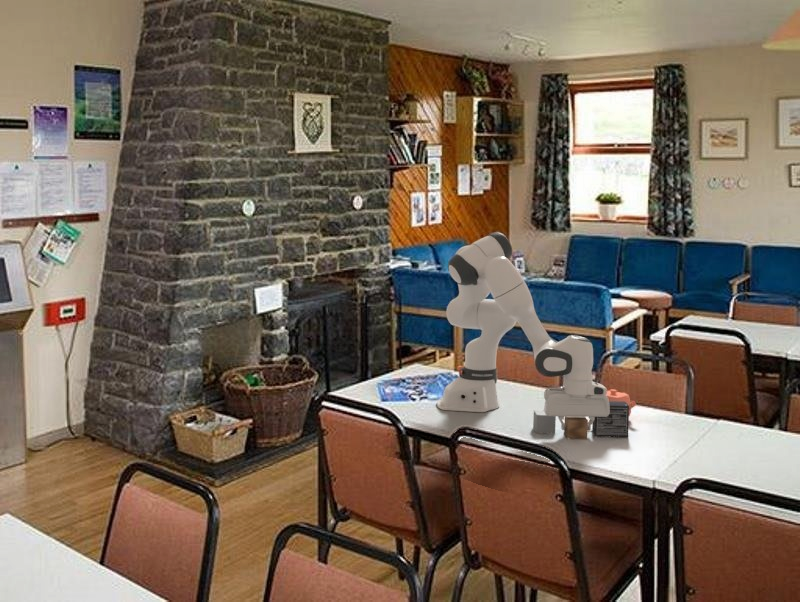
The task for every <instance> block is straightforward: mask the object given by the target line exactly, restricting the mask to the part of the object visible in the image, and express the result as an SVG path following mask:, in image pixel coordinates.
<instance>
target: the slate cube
mask: <svg viewBox="0 0 800 602" xmlns="http://www.w3.org/2000/svg"><path fill="white" fill-rule="evenodd" d="M556 417H557V416H547V415H546V414H545V412H544V409H543V410H542V409H540V410H539V409H534V410H533V426H532V427H533V428H532V429H533V430H534V432H535V433H536V434H556V421H557V420H556Z"/></svg>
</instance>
